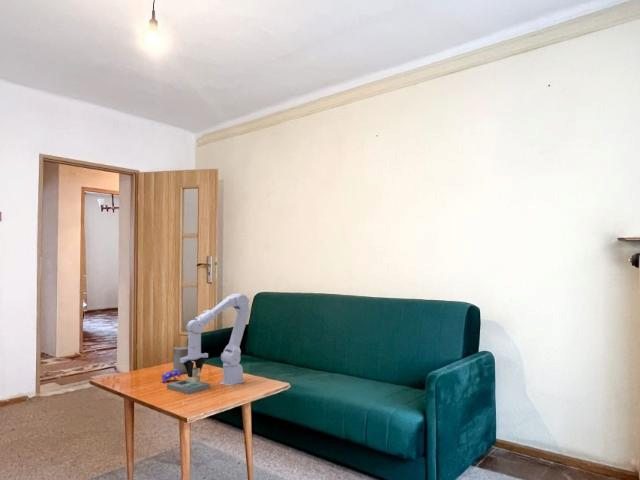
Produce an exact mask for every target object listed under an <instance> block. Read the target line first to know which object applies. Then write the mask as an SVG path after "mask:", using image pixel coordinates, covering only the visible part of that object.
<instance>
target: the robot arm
mask: <svg viewBox="0 0 640 480" xmlns="http://www.w3.org/2000/svg"><path fill="white" fill-rule="evenodd" d="M249 301H250V299H249V298H248V296H247V295H246V294H244V293H235V292H234V293H230V295H228V296H226V297H225V298H224V299H222V301H221V302H219V303H218V304H216V305H215V306H214V307H213V308H212V309H206V310H203V311H202V313H201V314H199V315H198V316H195V317H194V319H192V320H189V321H188V322H187V325H185V328H186V330H187V346H188V355H187V356H186V357H183V358H180V363H183V364H184V366H185V368H186V370H187V374H186V375H188V377H192V371H193V367H194V365H195V367H196V368H200V374H201V372H202V369H203V366H204V364H205V362H206V359H207V358H209V353H207V352H204V353H202V346H201V345H202V331H203V330H204V328H205V327H206V326H207V325H209V324H211V322H213V321H214V320H215V319H216V316H217V315H218V314H220V313H221V312H223V311H224V310H225V309H228V308H230V307H232V308H233V309H234V310H235V311H236V313H237V314H236V318H235V321H234V325H233V328H232V331H231V335H230V339H229V340H228V341H229V342H228V344H227V345H225V348H224V349H223V352H221V354H220V360H221V362H222V381H221V382H219V384H220V385H225V386H235V385H237V384H241V383H245V381H244V373H243V372H244V369H243V365H242V364H241V363H240V362H241V359H242V358H241V353H242V351H241V348H240V346H241V342H242V339H243V336H244V331H245V330H246V329H245V328H246V324H247V321H248V318H249V315H250V307H249Z"/></svg>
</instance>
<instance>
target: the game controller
mask: <svg viewBox="0 0 640 480" xmlns="http://www.w3.org/2000/svg"><path fill="white" fill-rule="evenodd" d="M180 371H181V370H180ZM176 376H177V377H178V378H180V379H182V376H183V374H182V373H181V375H180V373H179V371H178V369H174V368H173V369H172V370H170V371H167V372H164V373H163V374H161V378H162V379H161V380H162V382H163V383H164V384H166V383H167V381H169V382H171V378H173V379H175V380H177V378H176Z"/></svg>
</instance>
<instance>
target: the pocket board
mask: <svg viewBox="0 0 640 480" xmlns="http://www.w3.org/2000/svg"><path fill="white" fill-rule="evenodd" d="M166 389H167V390H169V391H174V392H179V393H182V394H186V395H191V394H194V393H197V392H202V391H204V390H208V389H211V383H208V382H204V381H201V380H200V382H196V383H189V382H187V379H186V378H185V379H183V380H179V381H178V380H177V381H174V382H169V383H167V384H166Z"/></svg>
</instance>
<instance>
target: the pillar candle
mask: <svg viewBox="0 0 640 480" xmlns="http://www.w3.org/2000/svg"><path fill="white" fill-rule="evenodd" d="M187 355H188V345H180V346H175V347H173V370H174V369H178V371H179V373H180V376H182V375H188V374H187V370H186V368H185V366H184V364H183V363H180V358H183V357H186V356H187ZM180 370H181V371H180ZM181 373H182V375H181Z"/></svg>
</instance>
